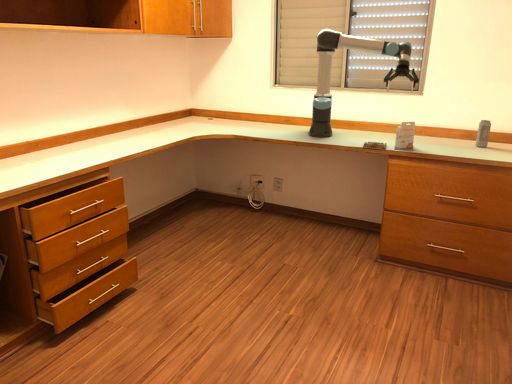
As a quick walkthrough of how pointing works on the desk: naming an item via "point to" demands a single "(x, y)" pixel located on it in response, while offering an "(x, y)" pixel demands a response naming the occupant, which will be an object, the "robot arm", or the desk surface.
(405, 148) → the mat
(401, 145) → the ink cartridge box
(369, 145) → the holder
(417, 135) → the desk surface
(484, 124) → the grey tall block
